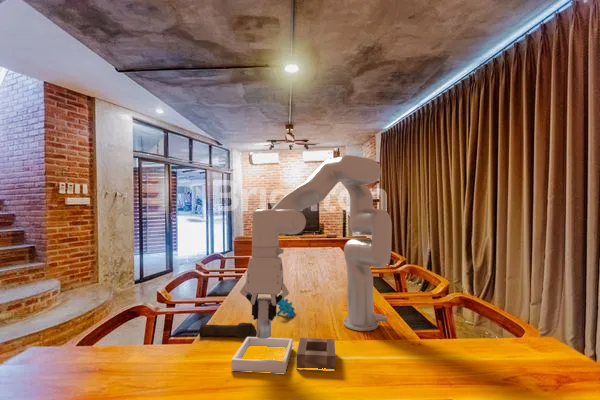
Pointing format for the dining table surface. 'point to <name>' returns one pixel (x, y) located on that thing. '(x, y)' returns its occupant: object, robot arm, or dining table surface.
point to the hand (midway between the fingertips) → (264, 317)
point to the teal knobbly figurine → (285, 307)
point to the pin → (263, 317)
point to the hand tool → (228, 330)
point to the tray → (262, 365)
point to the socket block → (316, 353)
